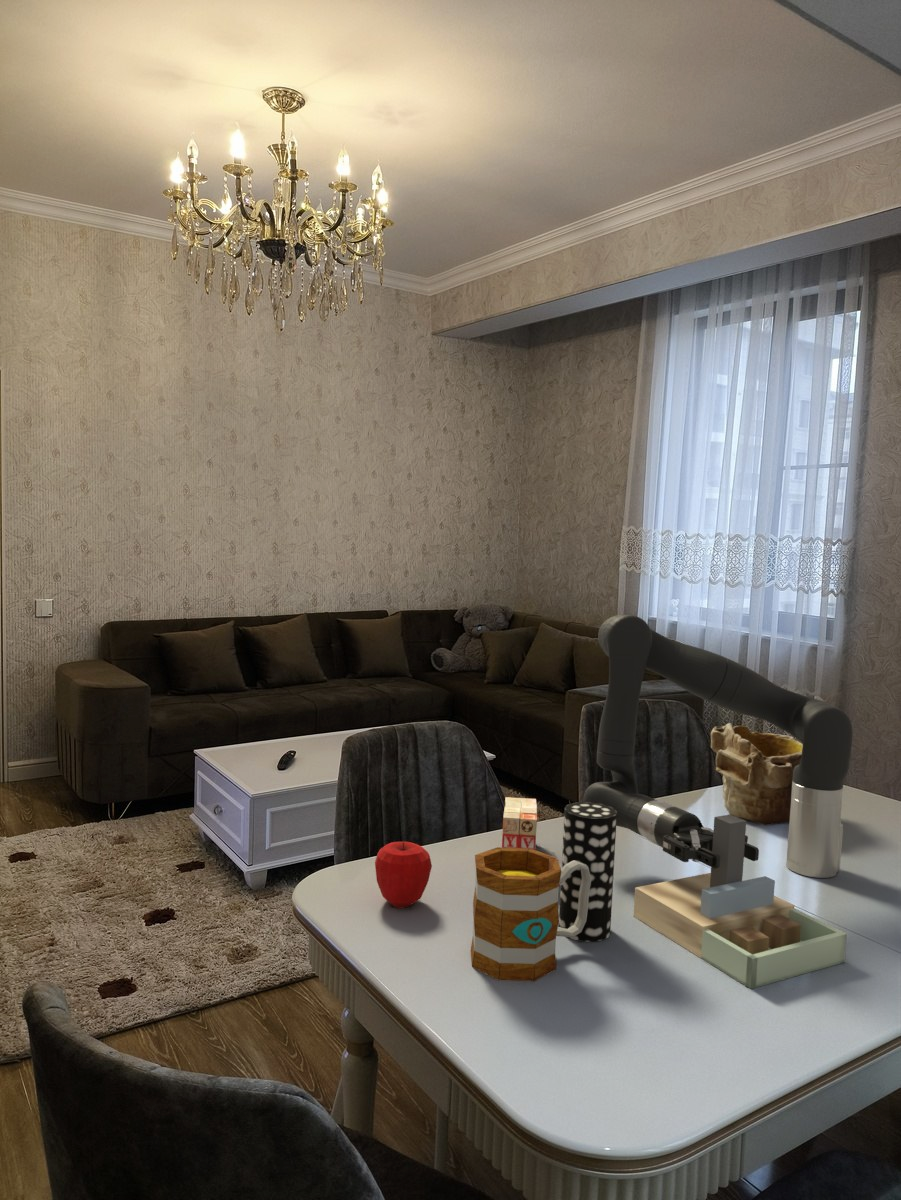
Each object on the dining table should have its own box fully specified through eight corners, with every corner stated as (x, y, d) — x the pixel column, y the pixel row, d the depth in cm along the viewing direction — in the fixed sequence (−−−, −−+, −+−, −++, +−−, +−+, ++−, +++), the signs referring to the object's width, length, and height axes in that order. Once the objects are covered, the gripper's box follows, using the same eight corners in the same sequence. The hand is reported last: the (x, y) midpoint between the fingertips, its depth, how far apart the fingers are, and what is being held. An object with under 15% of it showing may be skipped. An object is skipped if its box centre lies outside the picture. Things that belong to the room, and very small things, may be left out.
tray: (792, 934, 146) (794, 908, 146) (844, 962, 137) (846, 933, 137) (700, 958, 137) (702, 929, 136) (750, 989, 128) (752, 958, 127)
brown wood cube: (780, 914, 143) (801, 925, 140) (779, 938, 143) (799, 949, 140) (763, 919, 141) (783, 929, 138) (761, 943, 142) (781, 954, 138)
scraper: (747, 891, 150) (753, 810, 149) (773, 904, 146) (779, 820, 144) (684, 905, 144) (690, 820, 143) (709, 918, 139) (715, 831, 138)
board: (720, 897, 160) (722, 870, 160) (792, 934, 146) (794, 905, 146) (633, 916, 151) (635, 887, 150) (700, 958, 137) (703, 926, 136)
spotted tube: (598, 947, 139) (605, 822, 137) (550, 932, 143) (556, 811, 142) (617, 927, 146) (624, 808, 144) (571, 914, 150) (577, 799, 149)
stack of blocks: (503, 841, 185) (506, 783, 184) (534, 843, 184) (536, 785, 183) (499, 881, 164) (502, 816, 163) (534, 884, 163) (537, 818, 162)
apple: (440, 908, 151) (443, 846, 150) (390, 919, 146) (392, 855, 145) (412, 887, 159) (414, 828, 158) (364, 897, 154) (366, 836, 153)
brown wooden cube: (750, 926, 138) (768, 937, 135) (748, 950, 139) (767, 962, 135) (730, 929, 137) (748, 941, 133) (728, 954, 137) (746, 967, 134)
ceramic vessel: (864, 795, 199) (810, 710, 194) (784, 864, 196) (726, 780, 191) (802, 766, 221) (752, 689, 216) (729, 828, 218) (676, 752, 213)
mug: (492, 989, 125) (496, 885, 124) (453, 946, 137) (457, 852, 136) (610, 966, 133) (615, 869, 132) (563, 928, 145) (568, 838, 144)
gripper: (638, 810, 154) (706, 841, 139) (700, 801, 160) (771, 830, 146) (636, 853, 154) (703, 888, 140) (698, 842, 161) (768, 874, 147)
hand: (738, 858), depth 143 cm, fingers open, 8 cm apart
